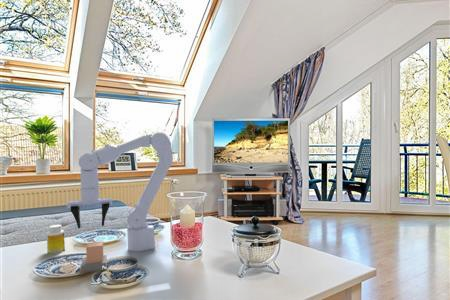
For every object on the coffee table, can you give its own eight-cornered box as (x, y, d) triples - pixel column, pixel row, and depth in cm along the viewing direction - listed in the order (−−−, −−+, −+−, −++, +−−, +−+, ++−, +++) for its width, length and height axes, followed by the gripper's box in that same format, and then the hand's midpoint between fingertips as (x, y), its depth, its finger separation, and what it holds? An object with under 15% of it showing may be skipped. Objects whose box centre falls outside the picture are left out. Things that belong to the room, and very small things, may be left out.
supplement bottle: (66, 254, 114) (65, 225, 114) (49, 258, 110) (48, 228, 110) (62, 250, 118) (61, 223, 118) (46, 253, 115) (44, 225, 114)
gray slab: (106, 261, 103) (106, 254, 103) (106, 269, 96) (106, 262, 96) (83, 264, 100) (82, 258, 100) (81, 272, 94) (81, 266, 94)
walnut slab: (108, 266, 103) (108, 260, 103) (108, 276, 96) (107, 269, 96) (81, 270, 100) (81, 264, 100) (79, 280, 93) (78, 273, 93)
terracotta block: (103, 256, 101) (103, 241, 101) (102, 261, 97) (102, 245, 97) (88, 258, 100) (87, 242, 99) (86, 263, 95) (86, 247, 95)
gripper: (65, 190, 105) (66, 231, 105) (112, 187, 110) (113, 226, 110) (67, 188, 111) (69, 226, 111) (111, 185, 116) (113, 222, 116)
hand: (91, 226), depth 111 cm, fingers open, 7 cm apart
